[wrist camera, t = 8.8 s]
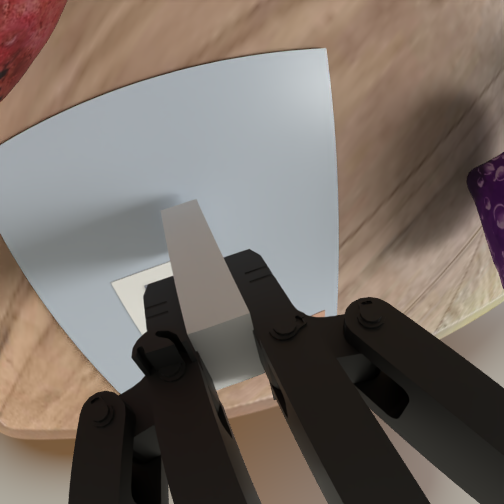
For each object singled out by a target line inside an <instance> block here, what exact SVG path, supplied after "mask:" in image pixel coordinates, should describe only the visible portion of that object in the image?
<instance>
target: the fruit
mask: <svg viewBox="0 0 504 504" xmlns="http://www.w3.org/2000/svg"><path fill="white" fill-rule="evenodd" d="M66 3H67V0H0V102H1V101H2V100H3V99H4V98H5V97H6V96H7V94H8V93H9V92H10V91H11V90H12V89H13V87H14V86H15V85H16V84H17V83H18V82H19V80H20V79H21V77H22V76H23V75H24V74H25V72H26V71H27V69H28V68H29V66H30V65H31V64H32V62H33V61H34V59H35V58H36V57H37V55H38V54H39V52H40V51H41V49H42V48H43V46H44V45H45V44H46V42H47V41H48V39H49V37H50V36H51V34H52V32H53V30H54V29H55V27H56V25H57V23H58V20H59V18H60V16H61V14H62V12H63V9H64V7H65V5H66Z"/></svg>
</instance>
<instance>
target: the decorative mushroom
mask: <svg viewBox="0 0 504 504" xmlns="http://www.w3.org/2000/svg"><path fill="white" fill-rule="evenodd" d="M467 185H468V189H469V191H470V193H471V196H472V197H473V199H474V201H475V204H476V207H477V210H478V213H479V217H480V220H481V223H482V226H483V230H484V233H485V237H486V240H487V243H488V246H489V249H490V252H491V256H492V259H493V262H494V264H495V266H496V268H497V271H498V273H499V276H500V279H501V283H502V286H503V289H504V152H503V153H502V154H500V155H498V156H497V157H495V158H493V159H491V160H489V161H488V162H486V163H484V164H482V165H480V166H478V167H476V168H474V169H472V170H471V171H470V172H469V174H468V177H467Z"/></svg>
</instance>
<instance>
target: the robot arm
mask: <svg viewBox="0 0 504 504" xmlns="http://www.w3.org/2000/svg"><path fill="white" fill-rule="evenodd" d="M161 217H162V222H163V227H164V233H165V238H166V243H167V248H168V253H169V258H170V263H171V267H172V272H173V276H171V277H168V278H165V279H162V280H159V281H156V282H153V283H150V284H148V285H147V288H146V290H145V293H144V295H143V301H144V309H145V319H146V329H147V332H145V333H144V334H143V335H142V336H141V337H140V338H139V339H138V340H137V341H136V343H135V345H134V347H133V348H132V356H131V358H132V359H133V361H134V362H135V363H136V365H137V366H138V367H139V368H140V370H141V371H142V372H143V374H144V375H145V376H144V377H143V378H142V380H141V381H140V382H138V383H137V384H136V385H135V386H133V387H132V388H130V389H128V390H127V391H125V392H124V393H122V394H121V395H119V396H118V395H117V394H115V393H114V392H109V391H103V392H98V393H96V394H94V395H93V396H91V397H89V399H88V400H87V401H86V402H85V403H84V405H83V407H82V410H81V413H80V417H79V423H78V429H77V435H76V441H75V448H74V455H73V462H72V470H71V480H70V490H69V502H68V504H169V498H168V484H169V488H170V492H171V495H172V499H173V502H174V504H261V502H260V499H259V497H258V495H257V492H256V490H255V488H254V485H253V483H252V481H251V478H250V476H249V473H248V471H247V468H246V466H245V463H244V461H243V458H242V456H241V453H240V450H239V448H238V445H237V443H236V440H235V437H234V435H233V432H232V429H231V427H230V424H229V421H228V418H227V416H226V413H225V410H224V407H223V405H222V404H221V402H220V400H219V398H218V395H217V392H216V390H219V389H222V388H225V387H228V386H230V385H233V384H236V383H239V382H242V381H245V380H247V379H250V378H253V377H255V376H258V375H261V374H263V373H266V375H267V377H268V379H269V382H270V386H271V390H272V394H273V398H274V400H277V402H278V404H279V406H280V409H281V410H282V413H283V415H284V417H285V419H286V421H287V423H288V425H289V427H290V429H291V431H292V433H293V435H294V437H295V440H296V442H297V444H298V446H299V447H300V450H301V452H302V454H303V456H304V458H305V460H306V462H307V464H308V465H309V468H310V469H311V471H312V473H313V475H314V477H315V479H316V481H317V483H318V485H319V487H320V489H321V491H322V493H323V495H324V497H325V499H326V501H327V502H328V504H430V502H429V501H428V499H427V498H426V496H425V494H424V493H423V491H422V490H421V488H420V486H419V485H418V483H417V482H416V480H415V479H414V477H413V475H412V474H411V472H410V471H409V469H408V468H407V466H406V464H405V463H404V461H403V460H402V458H401V457H400V455H399V454H398V452H397V450H396V449H395V448H394V446H393V444H392V443H391V441H390V440H389V438H388V436H387V435H386V433H385V432H384V430H383V429H382V427H381V426H380V424H379V423H378V421H377V420H376V418H375V416H374V415H373V414H372V412H371V410H372V411H373V412H374V413H375V414H377V415H378V416H379V417H380V418H381V419H382V420H383V421H384V422H385V423H386V424H388V425H389V426H390V427H391V428H392V429H393V430H394V431H395V432H397V433H398V434H399V435H400V436H401V437H402V438H403V439H404V440H406V441H407V442H408V443H409V444H410V445H411V446H412V447H414V448H415V449H416V450H417V451H418V452H419V453H420V454H422V455H423V456H424V457H425V458H426V459H427V460H429V461H430V462H431V463H432V464H433V465H434V466H435V467H437V468H438V469H439V470H440V471H441V472H443V473H444V474H445V475H446V476H447V477H448V478H450V479H451V480H452V481H453V482H454V483H456V484H457V485H458V486H459V487H461V488H462V489H463V490H464V491H465V492H466V493H468V494H469V495H470V496H471V497H473V498H474V499H475V500H476V501H477V502H479V503H480V504H504V388H503V387H501V386H500V385H499V384H498V383H496V382H495V381H493V380H492V379H491V378H490V377H488V376H487V375H486V374H484V373H483V372H482V371H481V370H479V369H478V368H476V367H475V366H474V365H473V364H471V363H470V362H469V361H467V360H466V359H465V358H463V357H462V356H461V355H459V354H458V353H457V352H455V351H454V350H453V349H451V348H450V347H449V346H447V345H446V344H444V343H443V342H442V341H440V340H439V339H438V338H436V337H435V336H434V335H432V334H431V333H429V332H428V331H427V330H425V329H424V328H422V327H421V326H420V325H418V324H417V323H415V322H414V321H413V320H411V319H410V318H408V317H407V316H406V315H404V314H403V313H401V312H400V311H399V310H397V309H396V308H394V307H393V306H392V305H390V304H389V303H387V302H385V301H383V300H381V299H379V298H372V297H367V298H360V299H358V300H356V301H354V302H352V303H351V304H350V305H349V306H348V307H347V309H346V312H345V314H343V315H336V316H329V317H313V316H309V315H306V314H305V313H304V312H301V311H299V310H297V309H296V308H295V307H294V305H293V304H292V303H291V301H290V300H289V298H288V296H287V295H286V293H285V292H284V290H283V289H282V287H281V286H280V284H279V283H278V281H277V279H276V278H275V276H274V275H273V274H272V272H271V270H270V269H269V267H268V266H267V264H266V263H265V261H264V260H263V258H262V256H261V255H259V254H258V253H256V252H254V251H252V250H251V249H247V250H244V251H241V252H238V253H235V254H232V255H229V256H226V257H223V256H222V254H221V251H220V249H219V247H218V245H217V243H216V241H215V239H214V236H213V234H212V232H211V230H210V228H209V226H208V223H207V221H206V219H205V217H204V215H203V213H202V210H201V208H200V206H199V204H198V202H197V199H194V200H191V201H188V202H185V203H182V204H179V205H176V206H173V207H170V208H167V209H164V210H161ZM264 370H265V372H264ZM215 388H216V389H215ZM369 408H370V409H371V410H370V409H369Z"/></svg>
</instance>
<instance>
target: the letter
mask: <svg viewBox="0 0 504 504" xmlns="http://www.w3.org/2000/svg"><path fill="white" fill-rule="evenodd" d="M194 199H197V202H198V204H199V206H200V208H201V210H202V213H203V215H204V217H205V219H206V221H207V223H208V226H209V228H210V230H211V232H212V234H213V236H214V239H215V241H216V243H217V245H218V247H219V249H220V251H221V254H222V256H223V257H226V256H229V255H232V254H235V253H238V252H241V251H244V250H247V249H251V250H252V251H254V252H256V253H258V254H259V255H261V256H262V258H263V260H264V261H265V263H266V264H267V266H268V267H269V269H270V270H271V272H272V274H273V275H274V276H275V278H276V279H277V281H278V283H279V284H280V286H281V287H282V289H283V290H284V292H285V293H286V295H287V296H288V298H289V300H290V301H291V303H292V304H293V305H294V307H295V308H296V309H297V310H299V311H301V312H304V313H305V314H306V315H309V316H313V317H329V316H336V315H337V299H338V261H339V218H338V180H337V159H336V142H335V128H334V115H333V104H332V94H331V84H330V75H329V67H328V59H327V51H326V48H319V49H304V50H292V51H283V52H274V53H266V54H259V55H252V56H246V57H239V58H234V59H228V60H223V61H218V62H213V63H208V64H204V65H199V66H195V67H191V68H187V69H183V70H179V71H175V72H171V73H168V74H164V75H161V76H157V77H154V78H151V79H147V80H144V81H141V82H138V83H135V84H132V85H129V86H126V87H123V88H120V89H117V90H115V91H112V92H109V93H107V94H104V95H101V96H99V97H96V98H94V99H91V100H89V101H86V102H84V103H82V104H79V105H77V106H75V107H72V108H70V109H68V110H66V111H63V112H61V113H59V114H57V115H55V116H53V117H51V118H49V119H47V120H45V121H43V122H41V123H39V124H37V125H35V126H33V127H31V128H29V129H27V130H25V131H24V132H22V133H20V134H18V135H16V136H15V137H13V138H11V139H9V140H8V141H6V142H4V143H3V144H1V145H0V234H1V236H2V237H3V239H4V241H5V243H6V245H7V246H8V248H9V250H10V252H11V253H12V255H13V257H14V258H15V260H16V262H17V263H18V265H19V267H20V268H21V270H22V271H23V273H24V274H25V276H26V278H27V279H28V281H29V282H30V284H31V285H32V287H33V288H34V290H35V291H36V293H37V294H38V296H39V297H40V298H41V300H42V301H43V303H44V304H45V306H46V307H47V308H48V310H49V311H50V312H51V314H52V315H53V316H54V318H55V319H56V320H57V322H58V323H59V324H60V326H61V327H62V328H63V330H64V331H65V332H66V333H67V335H68V336H69V337H70V338H71V340H72V341H73V342H74V343H75V344H76V346H77V347H78V348H79V349H80V350H81V352H82V353H83V354H84V355H85V356H86V357H87V358H88V360H89V361H90V362H91V363H92V364H93V365H94V366H95V368H96V369H97V370H98V371H99V372H100V373H101V374H102V375H103V376H104V377H105V378H106V379H107V380H108V382H109V383H110V384H111V385H112V386H113V387H114V388H115V389H116V390H117V391H118V392H119V393H120V394H122V393H124V392H125V391H127V390H128V389H130V388H132V387H133V386H135V385H136V384H137V383H138V382H140V381H141V380H142V378H143V377H144V376H145V375H144V374H143V372H142V371H141V370H140V368H139V367H138V366H137V365H136V363H135V362H134V361H133V359H132V358H131V356H132V348H133V347H134V345H135V343H136V341H137V340H138V339H139V338H140V337H141V336H142V335H143V334H144V333H145V332H147V329H146V319H145V309H144V301H143V295H144V293H145V290H146V288H147V285H148V284H150V283H153V282H156V281H159V280H162V279H165V278H168V277H171V276H173V272H172V267H171V263H170V258H169V253H168V248H167V243H166V238H165V233H164V227H163V222H162V217H161V210H164V209H167V208H170V207H173V206H176V205H179V204H182V203H185V202H188V201H191V200H194Z"/></svg>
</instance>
